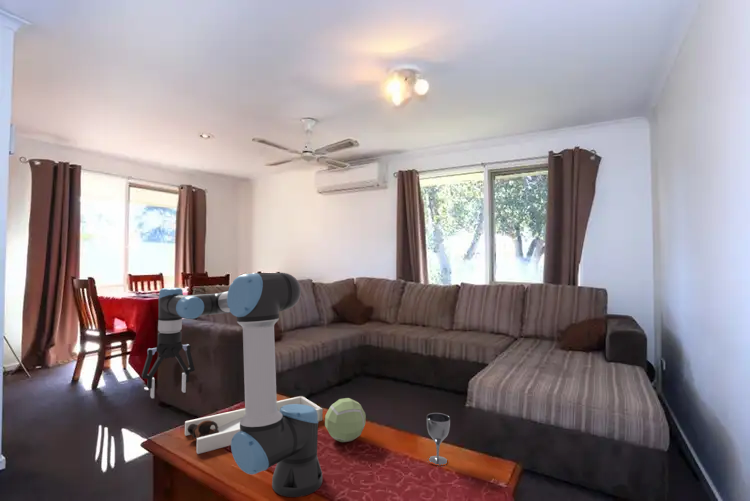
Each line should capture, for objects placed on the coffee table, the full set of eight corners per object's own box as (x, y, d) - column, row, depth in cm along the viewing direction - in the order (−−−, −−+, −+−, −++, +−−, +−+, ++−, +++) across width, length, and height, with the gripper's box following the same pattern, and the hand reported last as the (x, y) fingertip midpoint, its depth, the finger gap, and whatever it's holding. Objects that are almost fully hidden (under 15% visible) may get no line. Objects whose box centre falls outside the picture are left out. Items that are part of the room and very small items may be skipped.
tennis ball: (370, 445, 149) (371, 404, 149) (331, 451, 143) (332, 409, 143) (357, 428, 163) (357, 391, 163) (321, 434, 157) (321, 395, 157)
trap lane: (322, 425, 170) (322, 408, 170) (197, 459, 140) (197, 439, 140) (301, 410, 185) (301, 395, 185) (184, 439, 155) (185, 421, 155)
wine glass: (431, 468, 133) (432, 423, 133) (422, 456, 141) (423, 413, 141) (453, 465, 135) (454, 420, 135) (443, 454, 143) (443, 411, 143)
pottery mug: (222, 435, 156) (224, 420, 152) (211, 456, 147) (212, 442, 144) (192, 427, 156) (193, 412, 152) (179, 448, 147) (180, 433, 143)
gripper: (199, 326, 153) (198, 385, 152) (132, 332, 139) (130, 397, 139) (205, 329, 147) (203, 391, 146) (135, 336, 133) (133, 404, 133)
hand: (168, 394), depth 143 cm, fingers open, 9 cm apart
